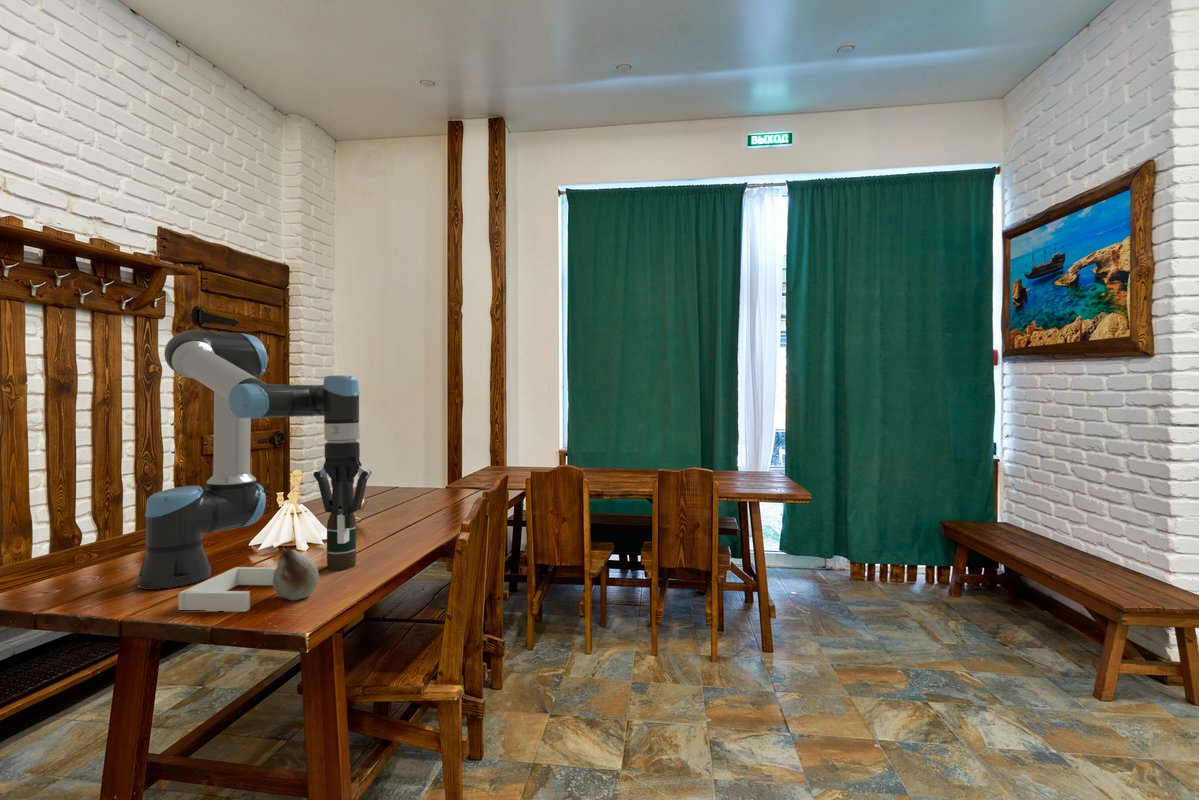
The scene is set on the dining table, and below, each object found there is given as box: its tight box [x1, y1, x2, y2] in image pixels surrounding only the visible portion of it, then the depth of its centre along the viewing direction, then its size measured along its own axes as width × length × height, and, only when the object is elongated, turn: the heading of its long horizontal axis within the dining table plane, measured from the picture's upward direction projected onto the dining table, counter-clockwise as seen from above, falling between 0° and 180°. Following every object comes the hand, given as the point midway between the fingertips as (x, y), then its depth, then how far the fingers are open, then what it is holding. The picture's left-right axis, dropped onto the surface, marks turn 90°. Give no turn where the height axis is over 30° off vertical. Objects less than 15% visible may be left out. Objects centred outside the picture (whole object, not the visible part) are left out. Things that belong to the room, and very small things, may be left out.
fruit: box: [272, 546, 320, 602], centre depth 134 cm, size 10×9×12 cm
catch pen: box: [178, 566, 277, 613], centre depth 135 cm, size 15×19×4 cm
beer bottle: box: [326, 485, 357, 571], centre depth 158 cm, size 8×8×24 cm
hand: (343, 541), depth 134 cm, fingers closed
